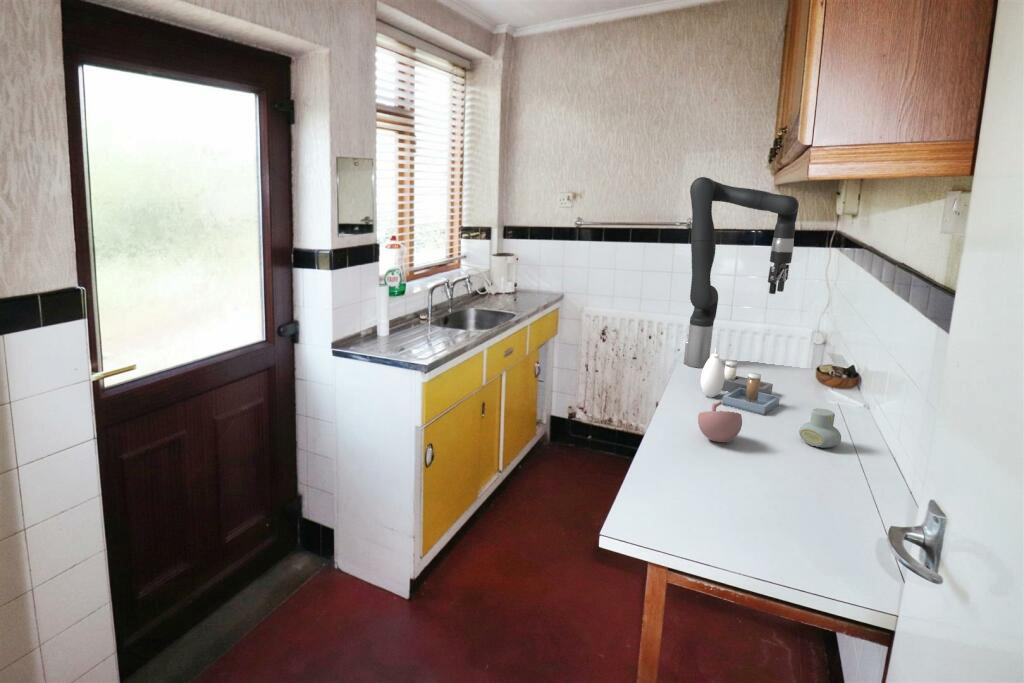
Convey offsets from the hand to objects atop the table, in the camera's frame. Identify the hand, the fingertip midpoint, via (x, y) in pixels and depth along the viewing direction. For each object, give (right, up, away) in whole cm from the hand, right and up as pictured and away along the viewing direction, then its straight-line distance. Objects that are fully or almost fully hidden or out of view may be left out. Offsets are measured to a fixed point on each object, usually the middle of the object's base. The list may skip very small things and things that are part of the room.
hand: (776, 292), depth 238 cm
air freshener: (-13, -49, -59) cm, 78 cm away
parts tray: (-21, -40, -28) cm, 53 cm away
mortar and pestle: (-42, -48, -59) cm, 87 cm away
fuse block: (-18, -37, -14) cm, 43 cm away
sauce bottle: (-32, -38, -20) cm, 54 cm away
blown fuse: (-20, -40, -28) cm, 53 cm away
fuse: (-22, -36, -10) cm, 43 cm away
